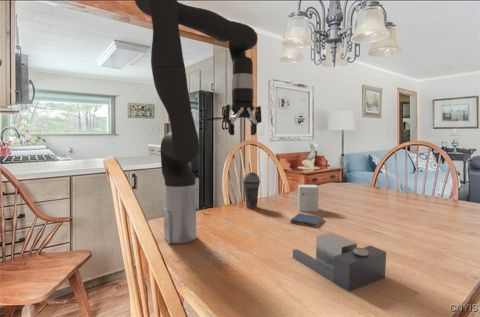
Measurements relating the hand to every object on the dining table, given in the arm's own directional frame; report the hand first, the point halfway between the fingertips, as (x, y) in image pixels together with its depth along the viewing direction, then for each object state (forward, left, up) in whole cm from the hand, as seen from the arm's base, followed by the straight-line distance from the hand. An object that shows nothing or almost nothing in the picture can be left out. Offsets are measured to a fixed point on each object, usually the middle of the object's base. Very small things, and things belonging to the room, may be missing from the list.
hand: (242, 135), depth 98 cm
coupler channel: (+4, -40, -32) cm, 51 cm away
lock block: (+4, -40, -32) cm, 51 cm away
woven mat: (+22, -10, -33) cm, 41 cm away
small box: (+33, +2, -32) cm, 46 cm away
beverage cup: (+14, +17, -32) cm, 39 cm away
